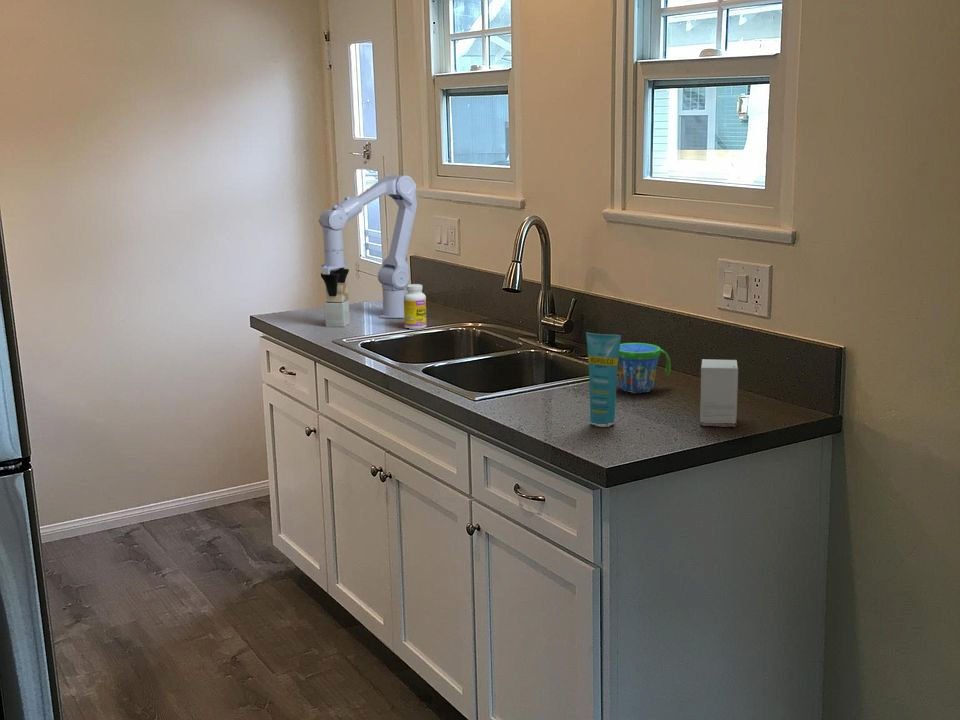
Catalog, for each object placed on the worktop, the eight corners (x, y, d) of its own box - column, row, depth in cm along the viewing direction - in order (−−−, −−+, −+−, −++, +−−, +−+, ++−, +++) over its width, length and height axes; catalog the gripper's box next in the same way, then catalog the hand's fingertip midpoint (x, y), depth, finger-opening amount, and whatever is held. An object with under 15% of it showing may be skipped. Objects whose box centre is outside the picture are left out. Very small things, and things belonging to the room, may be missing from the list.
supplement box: (736, 418, 219) (738, 359, 216) (736, 428, 212) (738, 368, 209) (699, 416, 221) (701, 358, 218) (698, 427, 214) (700, 366, 211)
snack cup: (665, 383, 247) (666, 341, 245) (675, 395, 237) (676, 351, 234) (599, 385, 246) (599, 343, 244) (606, 397, 236) (606, 353, 234)
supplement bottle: (416, 330, 310) (415, 287, 307) (400, 328, 314) (398, 286, 311) (431, 326, 315) (430, 284, 312) (414, 324, 319) (413, 282, 316)
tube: (582, 426, 216) (582, 334, 211) (588, 419, 220) (588, 329, 215) (617, 429, 213) (618, 337, 208) (623, 422, 217) (624, 332, 213)
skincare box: (350, 323, 323) (349, 299, 321) (344, 327, 317) (343, 303, 315) (331, 323, 324) (330, 299, 322) (325, 327, 318) (323, 303, 316)
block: (332, 298, 322) (331, 282, 321) (348, 299, 321) (347, 283, 319) (326, 301, 317) (325, 285, 316) (341, 302, 316) (341, 285, 315)
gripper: (330, 246, 323) (332, 290, 326) (311, 253, 309) (314, 298, 313) (352, 246, 321) (354, 290, 325) (334, 253, 308) (336, 299, 311)
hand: (336, 294), depth 318 cm, fingers closed on block, 5 cm apart
